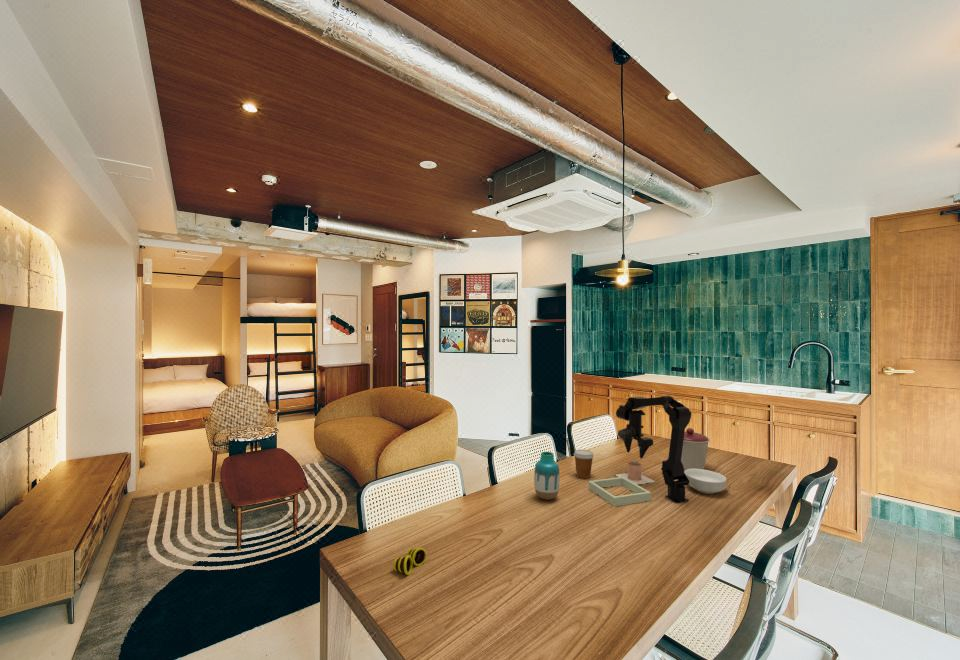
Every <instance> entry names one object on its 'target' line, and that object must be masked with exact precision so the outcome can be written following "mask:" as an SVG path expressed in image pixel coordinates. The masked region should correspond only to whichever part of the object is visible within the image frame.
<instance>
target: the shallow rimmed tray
mask: <svg viewBox="0 0 960 660" xmlns="http://www.w3.org/2000/svg"><path fill="white" fill-rule="evenodd" d="M619 485H623V486H622V487H623V488H625V487H626V488H625V489H627V488H628V489H627V490H629V491H630V490H631V491H630V492H632V491H633V492H632V493H630V494H622V495H616V496H615V495H614V494H612V493H610V492H609V491H607V490H606V489H605V488H602V487H608V488H612V487H611V486H616V487H620V486H619ZM589 489H590V490H589ZM588 490H589V491H591V490H592V491H593V493H594V492H595V493H596V494H595V493H594V494H595V495H597V494H598V495H599V496H598V495H597V496H598V497H599V498H601V497H602V498H601V499H602V500H604V499H605V500H606V502H607V503H608V502H609V503H608V504H610V505H611V504H612V505H611V506H613V507H621V506H626V505H632V503H634V504H638V503H639V502H640V503H645V501H647V502H651V501H652V492H651V491H650V490H648V489H645V488H644V487H642V486H641V485H636V484H635V483H633V482H631V481H629V480H627V479H626V478H624V477H611V478H604V479H602V478H601V479H596V480H589V481H588ZM592 491H591V492H592ZM605 500H604V501H605Z"/></svg>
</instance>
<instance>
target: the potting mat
mask: <svg viewBox="0 0 960 660" xmlns="http://www.w3.org/2000/svg"><path fill="white" fill-rule="evenodd" d="M615 475H616V476H618V477H624V478H626V479H627V480H629V481H631V482H633V483H635V484H636V485H638V484H642V485H647V484H646V483H649V484H655V483H656V481H655V480H653V479H651V478H649V477H647V476H645V475H643V474H642V480H640V481H634V480H630V479H628V478H627V472H625V473H618V474H617V473H616V474H615ZM616 476H615V477H616ZM618 477H617V478H618ZM654 482H655V483H654ZM638 486H639V485H638Z"/></svg>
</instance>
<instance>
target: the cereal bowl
mask: <svg viewBox="0 0 960 660" xmlns="http://www.w3.org/2000/svg"><path fill="white" fill-rule="evenodd" d="M684 473H685V475H686V476H687V478H688V479H689V481H690V482H689V485H688V486H690V487H692V488H693V489H694V490H695V491H697V492H699V493H702V494H708V495H711V494H714V493H720V492H722V491H723V490H725V488H726V487H727V481H728V480H727V478H726V476H725V475H723V474H722V473H718V472H717V471H711V470H708V469H705V468H704V469H687V470H684Z"/></svg>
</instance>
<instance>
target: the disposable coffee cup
mask: <svg viewBox="0 0 960 660" xmlns="http://www.w3.org/2000/svg"><path fill="white" fill-rule="evenodd" d="M573 456H574V462H575V471H576V473H575V474H576V477H577V476H578V477H577V478H579V477H581V478H580V479H582V478H588V479H590V478H589V477H591V473H592V466H593V458H594V456H595V455H594V453H593V451H591V450H588V449H582V448H581V449H575V450H574V453H573Z"/></svg>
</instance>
